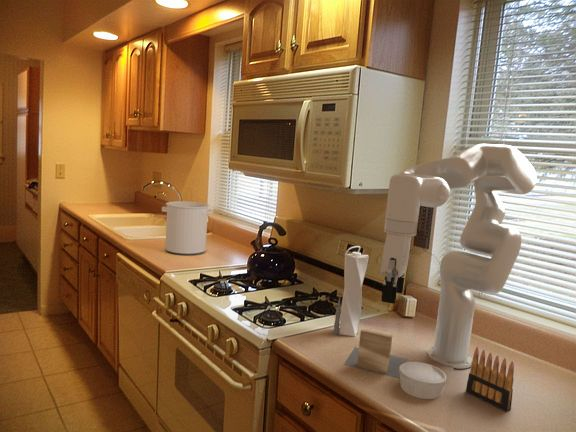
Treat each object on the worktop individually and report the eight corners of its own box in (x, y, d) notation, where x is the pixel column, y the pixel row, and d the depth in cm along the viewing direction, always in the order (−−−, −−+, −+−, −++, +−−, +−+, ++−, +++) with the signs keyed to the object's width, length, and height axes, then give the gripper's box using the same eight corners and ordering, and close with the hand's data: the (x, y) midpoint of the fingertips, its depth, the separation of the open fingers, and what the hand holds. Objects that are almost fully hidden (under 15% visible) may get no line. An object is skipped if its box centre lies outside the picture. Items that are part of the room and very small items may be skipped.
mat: (355, 348, 139) (355, 347, 139) (406, 361, 134) (407, 358, 134) (343, 366, 127) (343, 364, 127) (399, 380, 122) (399, 378, 122)
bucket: (156, 254, 233) (158, 205, 229) (163, 245, 254) (165, 199, 251) (209, 257, 235) (211, 208, 232) (212, 247, 257) (214, 203, 253)
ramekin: (453, 401, 114) (456, 381, 113) (412, 405, 110) (415, 384, 110) (427, 379, 124) (429, 360, 123) (389, 382, 121) (391, 362, 120)
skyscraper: (337, 327, 155) (345, 243, 151) (361, 331, 153) (370, 246, 149) (332, 336, 147) (341, 248, 143) (358, 341, 145) (367, 252, 141)
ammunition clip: (465, 391, 119) (471, 346, 117) (469, 390, 120) (475, 345, 118) (507, 412, 110) (514, 363, 109) (510, 410, 112) (518, 362, 110)
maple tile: (359, 362, 129) (362, 327, 127) (388, 369, 126) (392, 334, 125) (356, 366, 127) (360, 330, 125) (386, 373, 124) (391, 337, 122)
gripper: (391, 221, 121) (384, 286, 124) (376, 229, 105) (368, 303, 108) (421, 225, 118) (413, 291, 121) (411, 234, 103) (401, 310, 105)
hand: (392, 297), depth 114 cm, fingers open, 9 cm apart
